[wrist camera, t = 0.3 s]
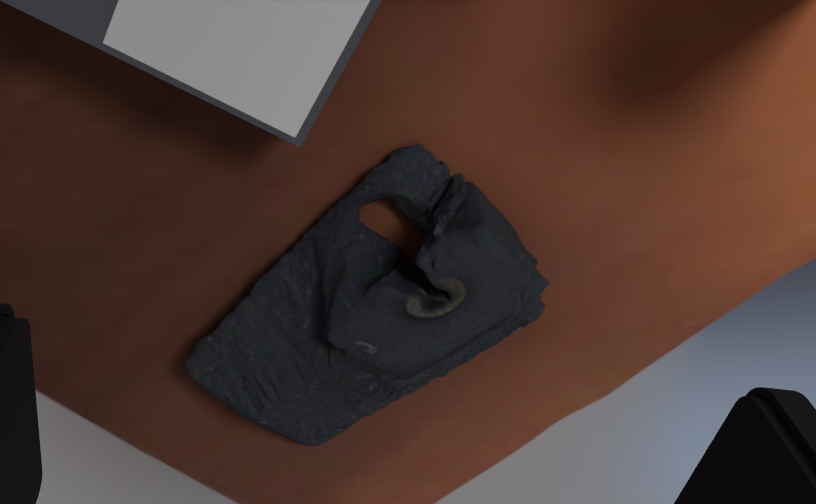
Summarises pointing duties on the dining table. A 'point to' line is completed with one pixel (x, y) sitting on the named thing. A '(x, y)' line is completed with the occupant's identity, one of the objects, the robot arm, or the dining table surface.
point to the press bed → (227, 49)
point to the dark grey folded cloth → (371, 306)
